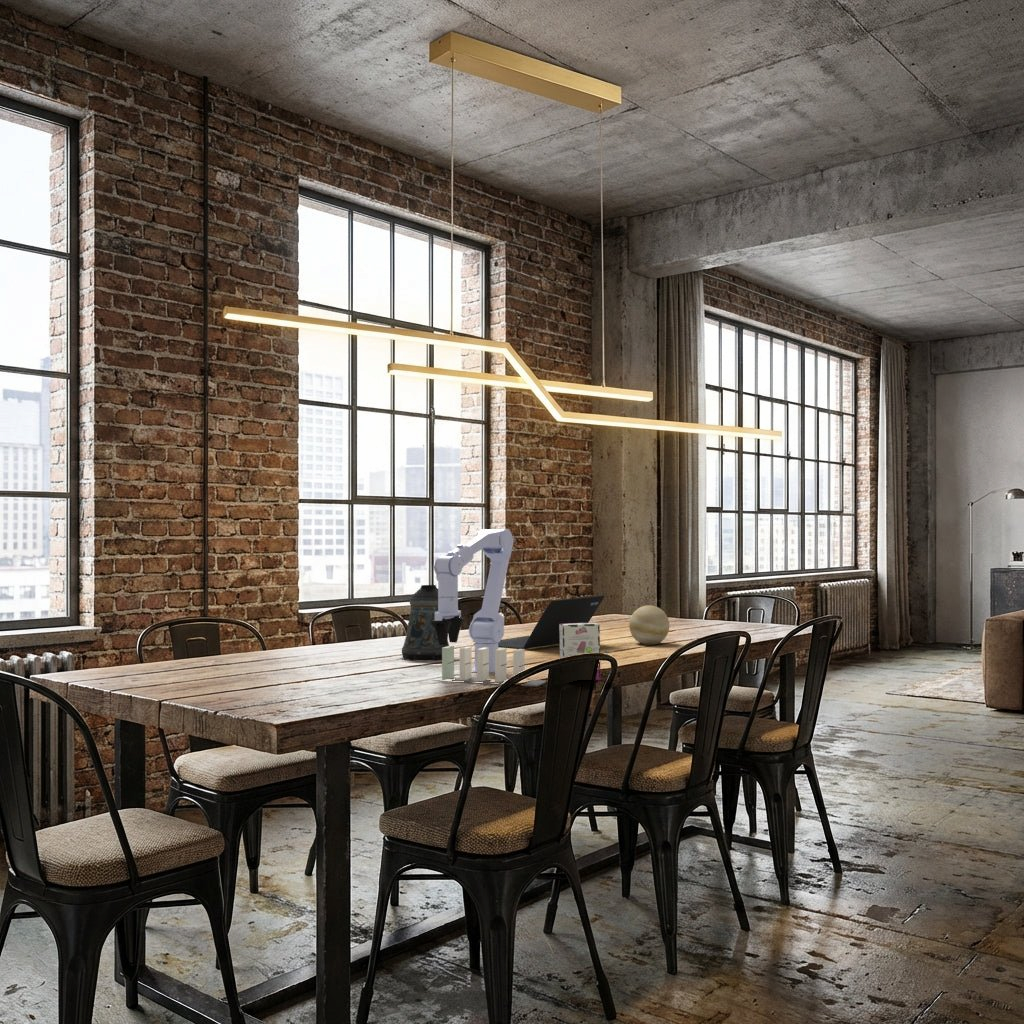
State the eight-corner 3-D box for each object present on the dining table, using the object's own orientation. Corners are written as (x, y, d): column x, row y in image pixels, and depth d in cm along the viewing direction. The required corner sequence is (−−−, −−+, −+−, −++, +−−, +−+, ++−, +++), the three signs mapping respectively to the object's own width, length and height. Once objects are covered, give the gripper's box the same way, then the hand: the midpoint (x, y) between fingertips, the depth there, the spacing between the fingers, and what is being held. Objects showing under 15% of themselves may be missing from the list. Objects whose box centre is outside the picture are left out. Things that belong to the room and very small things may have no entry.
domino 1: (459, 679, 297) (459, 648, 297) (466, 677, 302) (466, 646, 302) (464, 680, 297) (464, 648, 297) (471, 677, 301) (471, 646, 302)
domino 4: (513, 682, 291) (513, 650, 292) (519, 680, 296) (519, 648, 296) (518, 683, 291) (518, 650, 291) (524, 680, 296) (524, 649, 296)
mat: (419, 680, 299) (419, 678, 299) (432, 676, 308) (432, 674, 308) (537, 686, 287) (537, 685, 287) (547, 682, 295) (547, 680, 295)
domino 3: (495, 681, 293) (495, 650, 294) (501, 679, 298) (501, 648, 298) (500, 682, 293) (500, 650, 293) (506, 679, 298) (506, 648, 298)
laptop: (528, 640, 411) (528, 591, 412) (605, 646, 387) (605, 595, 387) (471, 647, 386) (471, 595, 386) (551, 655, 362) (550, 599, 362)
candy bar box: (596, 678, 303) (595, 622, 303) (600, 680, 298) (600, 623, 298) (559, 679, 301) (558, 623, 301) (563, 681, 296) (563, 624, 296)
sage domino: (442, 679, 299) (442, 647, 299) (449, 676, 304) (448, 646, 304) (447, 679, 299) (447, 648, 299) (454, 676, 303) (454, 646, 303)
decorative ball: (648, 642, 400) (647, 603, 400) (677, 645, 388) (677, 605, 388) (621, 645, 390) (620, 605, 390) (650, 648, 378) (650, 607, 379)
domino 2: (477, 680, 295) (477, 649, 296) (483, 678, 300) (483, 647, 300) (482, 681, 295) (482, 649, 295) (489, 678, 299) (488, 647, 300)
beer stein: (393, 662, 342) (393, 586, 342) (416, 655, 360) (416, 583, 361) (440, 663, 337) (440, 587, 337) (460, 656, 356) (460, 584, 356)
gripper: (445, 595, 310) (445, 640, 310) (424, 598, 296) (425, 645, 296) (467, 595, 307) (467, 641, 307) (447, 598, 294) (447, 646, 294)
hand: (448, 643), depth 301 cm, fingers open, 7 cm apart
